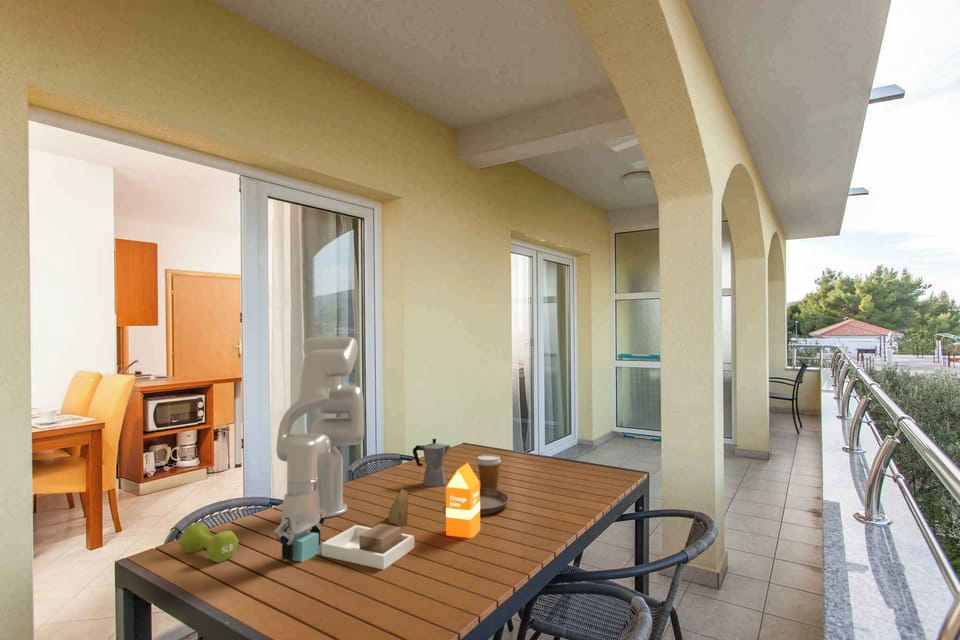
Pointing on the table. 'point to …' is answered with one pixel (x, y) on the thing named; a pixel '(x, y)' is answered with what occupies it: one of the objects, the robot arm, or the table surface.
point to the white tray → (349, 550)
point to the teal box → (305, 545)
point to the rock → (399, 509)
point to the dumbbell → (209, 542)
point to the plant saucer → (492, 501)
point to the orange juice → (463, 503)
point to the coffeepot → (433, 463)
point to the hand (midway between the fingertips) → (301, 551)
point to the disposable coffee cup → (489, 471)
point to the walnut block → (380, 538)
